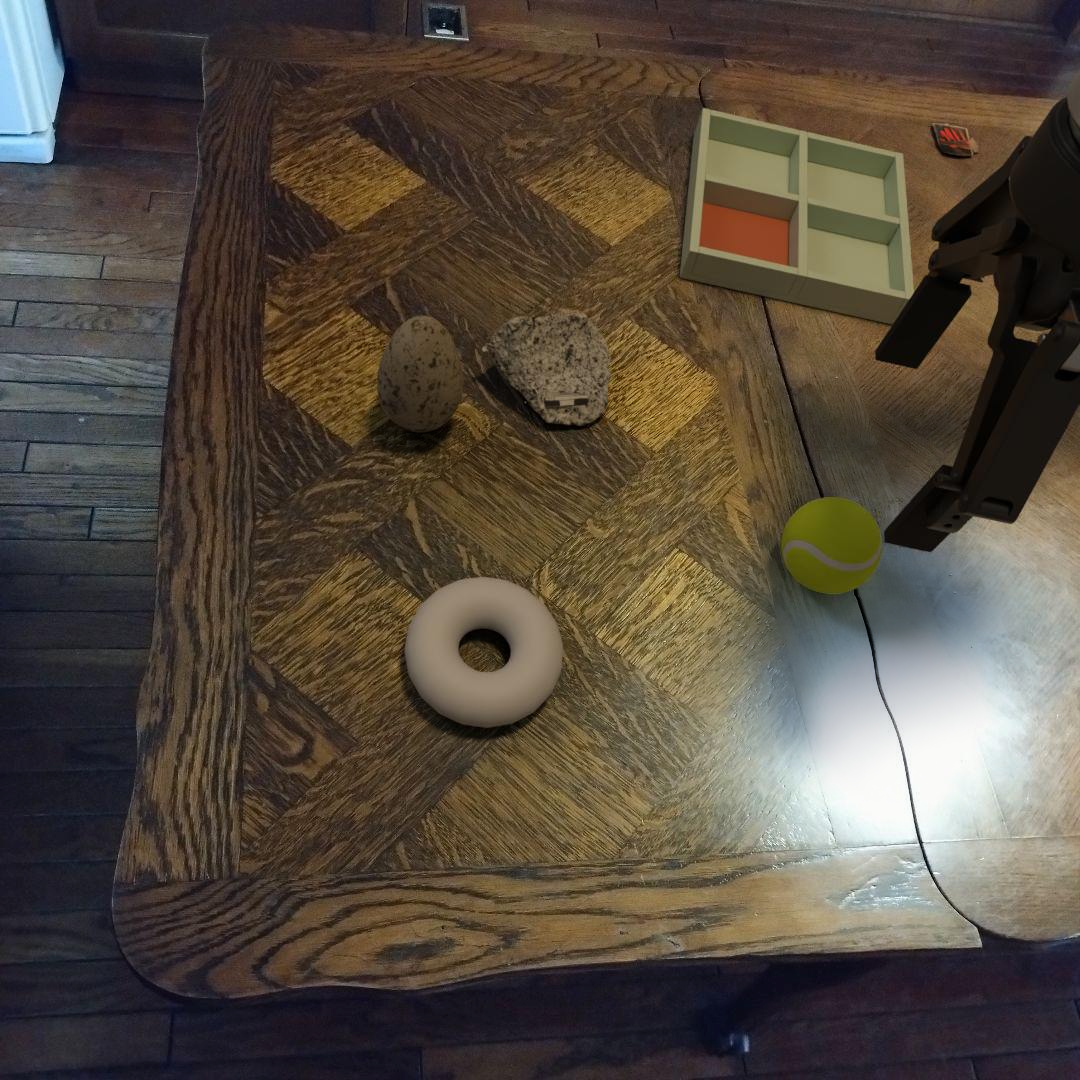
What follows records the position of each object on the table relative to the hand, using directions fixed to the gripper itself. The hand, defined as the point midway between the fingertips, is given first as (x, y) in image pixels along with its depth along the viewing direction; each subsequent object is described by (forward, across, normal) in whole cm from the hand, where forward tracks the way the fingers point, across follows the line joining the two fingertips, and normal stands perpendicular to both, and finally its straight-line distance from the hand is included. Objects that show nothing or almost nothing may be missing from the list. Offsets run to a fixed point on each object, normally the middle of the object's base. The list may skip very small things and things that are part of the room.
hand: (900, 446), depth 58 cm
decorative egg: (+15, -6, -30) cm, 34 cm away
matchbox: (+14, -54, +16) cm, 58 cm away
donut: (+15, +12, -21) cm, 29 cm away
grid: (+15, -36, -2) cm, 39 cm away
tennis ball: (+15, 0, 0) cm, 15 cm away
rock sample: (+15, -12, -20) cm, 27 cm away
